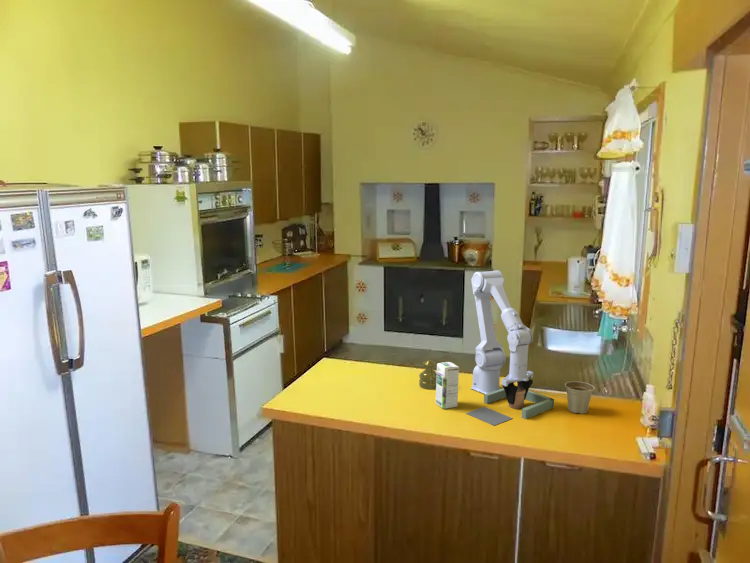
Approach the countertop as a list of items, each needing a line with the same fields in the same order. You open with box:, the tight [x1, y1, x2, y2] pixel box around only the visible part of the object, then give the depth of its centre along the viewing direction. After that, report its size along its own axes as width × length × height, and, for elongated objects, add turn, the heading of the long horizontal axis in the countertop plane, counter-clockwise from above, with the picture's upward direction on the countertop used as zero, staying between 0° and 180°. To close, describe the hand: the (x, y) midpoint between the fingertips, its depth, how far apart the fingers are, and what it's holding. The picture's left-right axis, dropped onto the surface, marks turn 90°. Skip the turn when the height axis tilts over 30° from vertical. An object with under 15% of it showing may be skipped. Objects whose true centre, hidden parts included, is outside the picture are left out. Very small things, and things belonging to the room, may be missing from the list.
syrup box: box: [435, 361, 460, 410], centre depth 192 cm, size 6×6×14 cm
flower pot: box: [564, 380, 596, 415], centre depth 189 cm, size 9×9×9 cm
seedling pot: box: [508, 387, 526, 410], centre depth 193 cm, size 6×6×6 cm
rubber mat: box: [465, 406, 513, 427], centre depth 185 cm, size 12×9×1 cm
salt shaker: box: [418, 359, 437, 390], centre depth 211 cm, size 7×7×10 cm
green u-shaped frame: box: [483, 387, 555, 420], centre depth 194 cm, size 18×16×3 cm
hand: (516, 401), depth 193 cm, fingers closed on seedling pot, 5 cm apart
